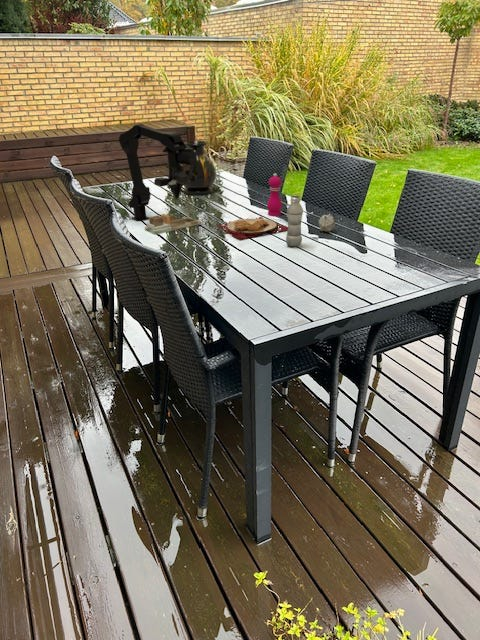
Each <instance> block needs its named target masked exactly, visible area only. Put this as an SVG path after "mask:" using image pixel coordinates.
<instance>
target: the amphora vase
mask: <svg viewBox="0 0 480 640" xmlns="http://www.w3.org/2000/svg"><path fill="white" fill-rule="evenodd" d="M184 144H185V145H186V147H187V148H188V149H190V148H193V151H194V152H195V154H196V156H197V160H196V163H195V164H194V165H186V164H181V166H183V170H184V171H187V170H191V171H192V174H195V176H196V181H190V180H189V181H188V182H187V183H186V182H185V183H186V184H184V185H183V186H184V190H183V192H184V193H185V194H186V195H189V196H190V195H191V196H203V195H208V194H210V193H211V192H213V188H212V186H213V185H214V183H215V182H216V179H217V172H216V167H215V165H214V163H213V161H212V159H211V158H210V156H208V155H207V154H206V152H205V146H207V145H208V143H207V141H204V140H203V141H202V140H191V141H186V142H184ZM183 186H182V187H183Z"/></svg>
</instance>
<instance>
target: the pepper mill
mask: <svg viewBox="0 0 480 640" xmlns="http://www.w3.org/2000/svg"><path fill="white" fill-rule="evenodd" d="M268 185H269V191H270V196H269V199H268V201H267V203H266V204H267V209H268V211H267V215H268V216H269V217H270V216H271V217H278V216H279V217H280V216H281V213H282V211H281V209H282V207H283V203H282V200H281V198H280V191H281V187H280V186H281V185H282V180H281V178H280V177H279V176H278V174H277V173H273V176H272V177H270V178H269V179H268Z"/></svg>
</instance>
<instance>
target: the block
mask: <svg viewBox="0 0 480 640" xmlns="http://www.w3.org/2000/svg"><path fill="white" fill-rule="evenodd" d="M148 217H149V219H148V221H149V222H148V223H150V224H152V225H155V227H157V226H162V225H163V217H161V215H158V214H157V215H155V216H148Z"/></svg>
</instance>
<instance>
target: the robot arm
mask: <svg viewBox="0 0 480 640" xmlns="http://www.w3.org/2000/svg"><path fill="white" fill-rule="evenodd" d="M142 137H145V138H149V139H151V140H154V141H156V142H157V141H158V142H159V143H161V145H162V146H164V147H165V148H164V149H163V150H162V152H163V153H165V154H166V155H167V156H166V157H167V165H166V169H167V171H168V172H167V173H168V174H166V175H167V177H163V176H161V177H156V178H154V180H153V181H154V185H155V186H158V187H166V186H168V187H169V189H170V190H171V192H172V194H173V197H174V199H175V200H178V199H179V198H180V195H181V191H182V188H183V185H184V184H186V183H187V182H188V181H189V180H190V181H196V176H195V174H192V171H191V170H187V171H184V170H183V166H181V164H186V165H194V164H195V163H196V160H197V156H196V154H195V152H194V151H193V148H190V149H188V147H187V146H186V145H185V144H184V143H185V142H184V141H183V139H182V137H181V134H180V133H178V132H176V131H175V132H174V131H163V130H159V129H156V128H154V127H150V126H147V125H146V124H145V125H144V124H142V123H138V124H134V125H133V126H132V127H131V128H129V129H128V130H127V131H125V132H124V133H120V135H119V137H118V141H119V142H118V143H119V145H120V148H121V149H122V151H123V152H124V153H125V155H126V158H127V162H128V163H127V164H128V168H129V172H130V177H131V182H132V185H133V186H132V189H131V198H130V200H129V202H128V207H129V208H130V209H133V216H131V219H133V220H135V221H137V222H139V221H144V220H149V217H150V216H147V211H146V206H148V205H149V203H150V200H151V196H152V194H151V192H150V191H151V190H150V187H149V186H146V185H145V183H144V178H143V174H142V169H141V166H140V165H141V164H140V160H139V154H138V150H139V146H140V145H139V140H140V139H141V138H142ZM185 182H186V183H185Z"/></svg>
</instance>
